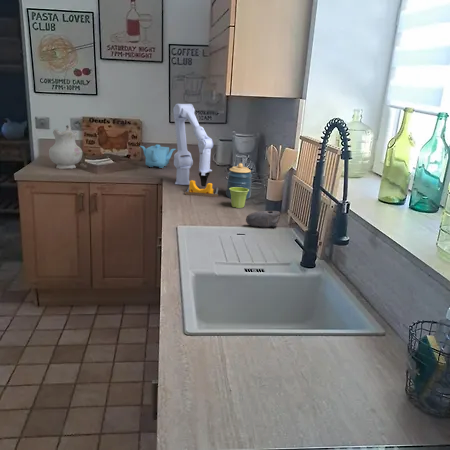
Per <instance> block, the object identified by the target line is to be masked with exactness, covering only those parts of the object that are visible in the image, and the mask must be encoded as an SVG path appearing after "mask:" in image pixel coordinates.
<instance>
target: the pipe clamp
mask: <svg viewBox="0 0 450 450" xmlns="http://www.w3.org/2000/svg"><path fill="white" fill-rule="evenodd" d="M189 181H190V184H189V185H188V187H189V192H198V193H212V194H214V188H213V183H211V182H209V183H206V186H205V188H199V187H198V186H197V184H196V180H193V179H191V180H189Z"/></svg>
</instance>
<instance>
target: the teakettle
mask: <svg viewBox="0 0 450 450" xmlns="http://www.w3.org/2000/svg"><path fill="white" fill-rule="evenodd" d="M139 147H140V148H141V149H142V150H143V155H144V157H145V166H147V167H153V168H154V167H158V169H159V168H165V167H164V166H166V167H167V165H168V164H170V159H171V158H172V154H173V153H174V151H176V150H177V148H171V149H170V147H169V146H161V144H155V145H151V146H148V147H147V148H146V147H145V146H144V145H139Z"/></svg>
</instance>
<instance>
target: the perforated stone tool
mask: <svg viewBox="0 0 450 450" xmlns="http://www.w3.org/2000/svg"><path fill="white" fill-rule="evenodd" d="M281 214H282V213H281V212H280V211H278V210H263V211H256V212H251V213H249V214H248V215H246V218H245V222H246V223H247V225H249V226H251V227H258V226H259V228H270V227H272V228H277V226H278V223H279V222H280V219H281Z"/></svg>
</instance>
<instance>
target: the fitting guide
mask: <svg viewBox="0 0 450 450" xmlns="http://www.w3.org/2000/svg"><path fill="white" fill-rule="evenodd" d="M218 193H219V187H216V189H215V193H213V194H212V193H198V192H189V186H188V187H187V190H186V191H184V194H185V195H186V196H193V197H194V196H195V197H196V196H197V197H210V198H218V197H219V194H218Z"/></svg>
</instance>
